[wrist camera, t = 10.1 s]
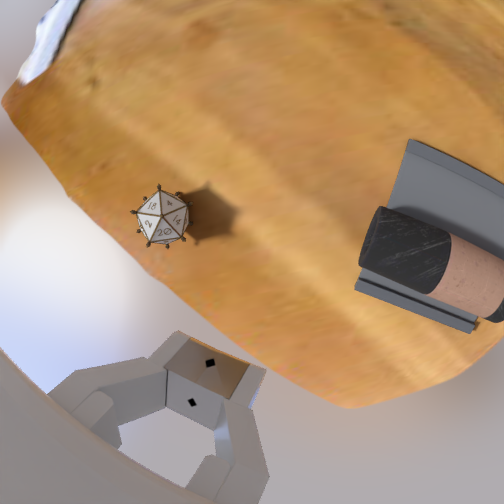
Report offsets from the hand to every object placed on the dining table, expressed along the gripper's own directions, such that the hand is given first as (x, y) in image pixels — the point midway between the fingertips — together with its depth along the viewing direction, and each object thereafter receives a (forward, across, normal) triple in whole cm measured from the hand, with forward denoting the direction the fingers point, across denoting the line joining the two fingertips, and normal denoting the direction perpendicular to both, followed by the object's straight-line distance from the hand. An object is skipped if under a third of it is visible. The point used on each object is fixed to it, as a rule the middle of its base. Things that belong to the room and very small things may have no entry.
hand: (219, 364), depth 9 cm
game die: (+32, +20, +9) cm, 38 cm away
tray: (+31, -17, 0) cm, 35 cm away
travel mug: (+27, -6, +2) cm, 28 cm away
